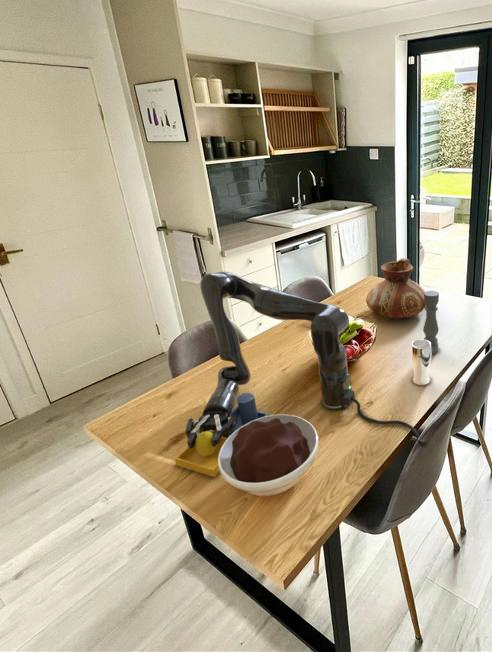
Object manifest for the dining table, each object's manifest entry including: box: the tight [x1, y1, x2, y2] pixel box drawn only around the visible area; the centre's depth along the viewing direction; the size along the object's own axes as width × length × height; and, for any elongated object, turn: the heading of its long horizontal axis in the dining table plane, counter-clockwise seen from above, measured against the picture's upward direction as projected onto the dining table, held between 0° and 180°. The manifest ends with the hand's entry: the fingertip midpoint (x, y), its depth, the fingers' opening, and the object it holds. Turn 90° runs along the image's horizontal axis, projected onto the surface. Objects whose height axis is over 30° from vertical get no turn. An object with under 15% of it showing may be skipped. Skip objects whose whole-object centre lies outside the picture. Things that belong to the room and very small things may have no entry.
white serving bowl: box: [218, 413, 320, 497], centre depth 102 cm, size 25×25×15 cm
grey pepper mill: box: [422, 290, 440, 355], centre depth 157 cm, size 6×6×25 cm
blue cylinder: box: [236, 392, 259, 425], centre depth 123 cm, size 5×5×9 cm
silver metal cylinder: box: [410, 338, 432, 386], centre depth 140 cm, size 7×7×15 cm
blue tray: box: [215, 405, 270, 436], centre depth 123 cm, size 12×10×2 cm
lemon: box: [195, 431, 218, 456], centre depth 110 cm, size 6×6×8 cm
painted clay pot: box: [365, 257, 426, 320], centre depth 193 cm, size 30×30×25 cm
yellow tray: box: [174, 436, 228, 478], centre depth 111 cm, size 13×11×2 cm
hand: (202, 444), depth 107 cm, fingers closed on lemon, 5 cm apart
